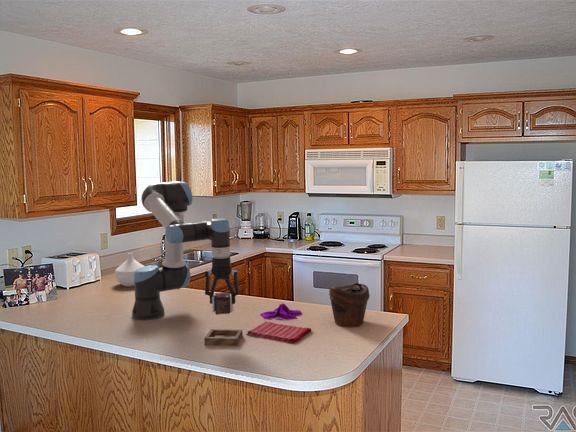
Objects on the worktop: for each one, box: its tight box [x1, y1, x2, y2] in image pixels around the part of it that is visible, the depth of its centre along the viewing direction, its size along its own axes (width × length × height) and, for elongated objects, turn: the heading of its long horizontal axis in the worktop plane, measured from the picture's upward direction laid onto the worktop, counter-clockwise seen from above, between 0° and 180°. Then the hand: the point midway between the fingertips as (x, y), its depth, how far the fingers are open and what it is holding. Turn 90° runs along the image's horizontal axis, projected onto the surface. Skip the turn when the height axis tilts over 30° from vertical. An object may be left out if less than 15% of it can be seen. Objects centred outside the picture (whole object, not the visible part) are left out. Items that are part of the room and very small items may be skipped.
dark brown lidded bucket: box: [328, 282, 371, 328], centre depth 243 cm, size 18×20×18 cm
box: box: [214, 292, 231, 315], centre depth 221 cm, size 6×6×7 cm
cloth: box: [259, 302, 302, 321], centre depth 256 cm, size 22×19×6 cm
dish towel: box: [246, 321, 312, 344], centre depth 231 cm, size 17×24×3 cm
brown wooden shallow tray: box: [203, 328, 244, 347], centre depth 223 cm, size 14×11×3 cm
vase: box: [114, 252, 146, 287], centre depth 319 cm, size 18×18×19 cm
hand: (223, 311), depth 222 cm, fingers closed on box, 7 cm apart
